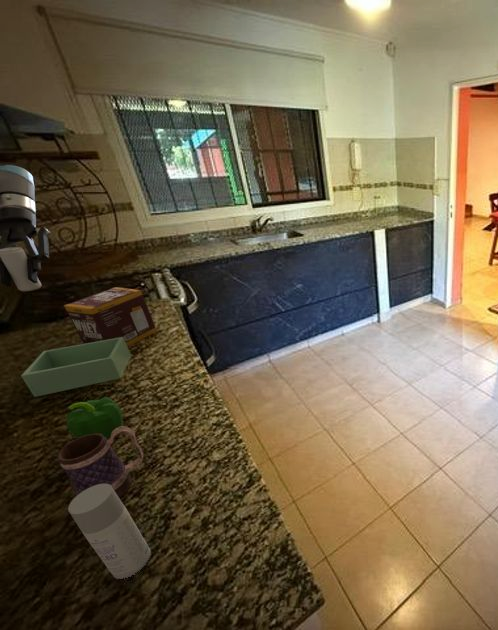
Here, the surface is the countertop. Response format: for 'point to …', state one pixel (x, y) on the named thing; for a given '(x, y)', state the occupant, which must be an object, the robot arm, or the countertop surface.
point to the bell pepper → (94, 418)
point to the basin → (77, 366)
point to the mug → (98, 462)
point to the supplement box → (112, 316)
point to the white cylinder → (18, 268)
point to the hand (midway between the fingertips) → (19, 282)
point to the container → (110, 530)
